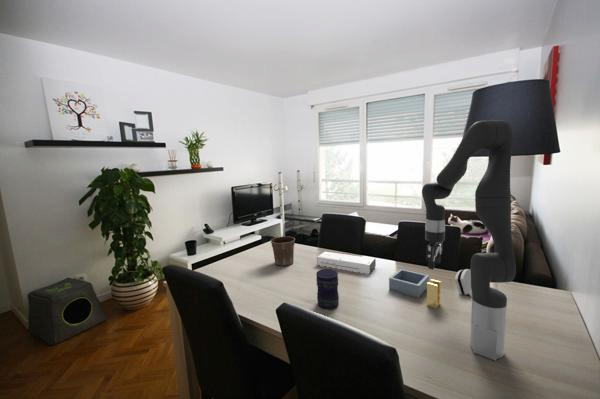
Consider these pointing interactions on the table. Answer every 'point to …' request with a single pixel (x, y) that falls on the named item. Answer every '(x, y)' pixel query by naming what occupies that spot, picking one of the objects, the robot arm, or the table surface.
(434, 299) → the bracket
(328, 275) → the storage jar
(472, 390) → the table surface
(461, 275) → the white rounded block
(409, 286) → the box
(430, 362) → the table surface
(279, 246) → the plant pot
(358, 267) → the laminator
